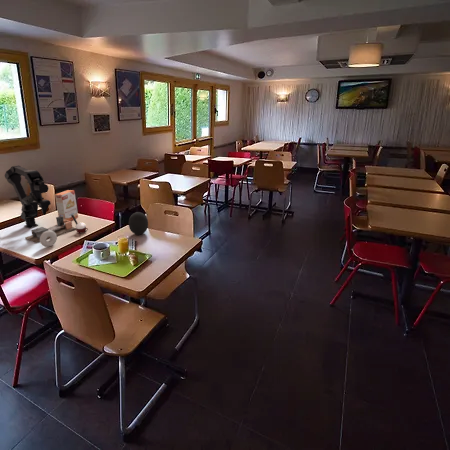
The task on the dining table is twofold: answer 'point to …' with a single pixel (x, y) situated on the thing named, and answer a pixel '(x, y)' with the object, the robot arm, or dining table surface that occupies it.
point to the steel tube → (58, 224)
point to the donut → (45, 235)
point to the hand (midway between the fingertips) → (40, 213)
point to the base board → (37, 232)
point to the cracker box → (66, 204)
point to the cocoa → (80, 226)
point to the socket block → (68, 224)
